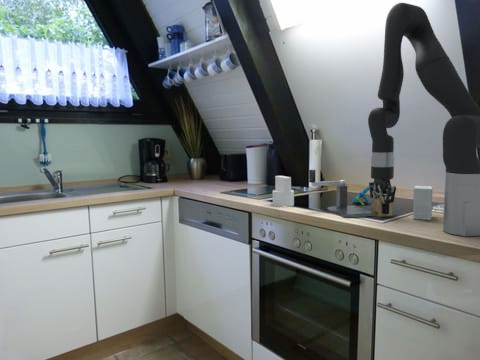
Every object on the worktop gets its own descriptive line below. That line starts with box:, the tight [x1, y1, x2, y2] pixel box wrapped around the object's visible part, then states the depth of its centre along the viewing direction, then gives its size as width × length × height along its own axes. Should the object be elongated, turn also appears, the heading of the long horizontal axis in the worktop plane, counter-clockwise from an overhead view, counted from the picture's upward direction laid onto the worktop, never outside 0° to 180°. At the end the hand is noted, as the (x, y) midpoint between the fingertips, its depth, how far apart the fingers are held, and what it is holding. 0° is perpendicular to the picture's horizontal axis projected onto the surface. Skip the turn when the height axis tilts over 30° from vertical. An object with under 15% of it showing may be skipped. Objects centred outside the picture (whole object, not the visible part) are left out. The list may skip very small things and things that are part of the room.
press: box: [327, 185, 375, 219], centre depth 132 cm, size 16×11×9 cm
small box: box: [412, 185, 433, 221], centre depth 121 cm, size 8×6×10 cm
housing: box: [370, 197, 393, 218], centre depth 127 cm, size 5×5×7 cm
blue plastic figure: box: [351, 186, 371, 206], centre depth 149 cm, size 11×6×10 cm
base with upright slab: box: [272, 175, 295, 207], centre depth 151 cm, size 9×9×12 cm
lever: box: [308, 169, 347, 187], centre depth 136 cm, size 15×3×6 cm, turn 99°
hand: (381, 212), depth 127 cm, fingers closed on housing, 5 cm apart
